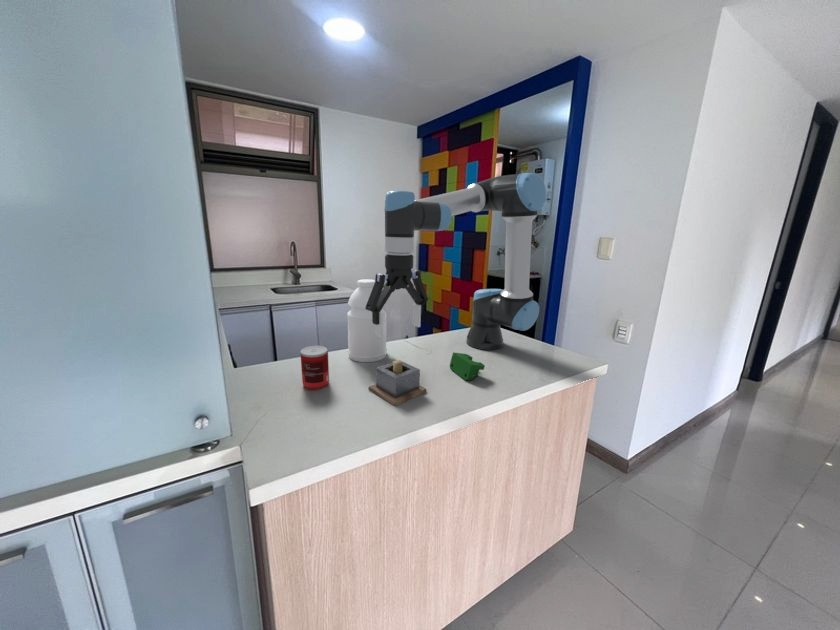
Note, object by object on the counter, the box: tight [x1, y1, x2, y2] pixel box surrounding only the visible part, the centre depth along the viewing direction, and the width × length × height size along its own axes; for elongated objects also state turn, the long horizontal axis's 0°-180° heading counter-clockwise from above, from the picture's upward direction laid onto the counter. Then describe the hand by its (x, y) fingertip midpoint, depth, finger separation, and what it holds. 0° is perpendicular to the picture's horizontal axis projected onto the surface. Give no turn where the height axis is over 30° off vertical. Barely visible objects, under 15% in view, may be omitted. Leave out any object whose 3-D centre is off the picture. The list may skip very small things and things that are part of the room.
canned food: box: [300, 345, 330, 391], centre depth 99 cm, size 8×8×11 cm
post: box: [368, 360, 427, 406], centre depth 97 cm, size 12×12×9 cm
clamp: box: [449, 351, 486, 381], centre depth 111 cm, size 12×6×9 cm, turn 20°
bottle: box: [346, 278, 387, 363], centre depth 120 cm, size 14×14×28 cm
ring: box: [375, 359, 421, 398], centre depth 97 cm, size 9×9×6 cm
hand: (398, 330), depth 93 cm, fingers open, 13 cm apart
